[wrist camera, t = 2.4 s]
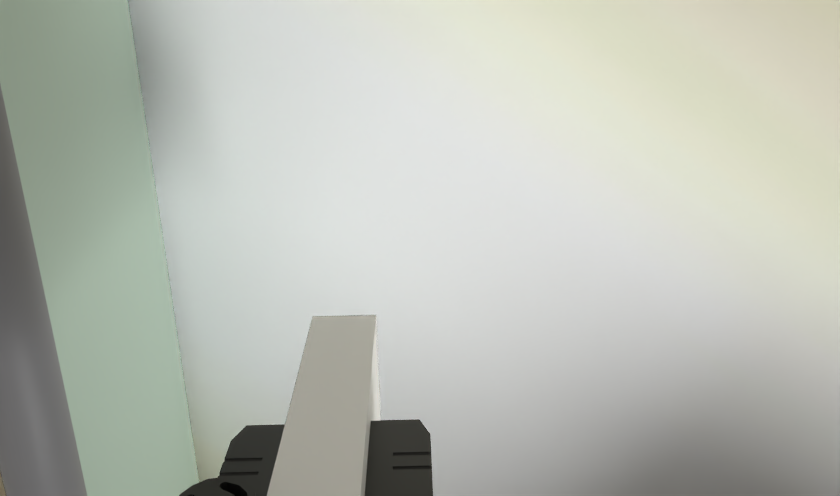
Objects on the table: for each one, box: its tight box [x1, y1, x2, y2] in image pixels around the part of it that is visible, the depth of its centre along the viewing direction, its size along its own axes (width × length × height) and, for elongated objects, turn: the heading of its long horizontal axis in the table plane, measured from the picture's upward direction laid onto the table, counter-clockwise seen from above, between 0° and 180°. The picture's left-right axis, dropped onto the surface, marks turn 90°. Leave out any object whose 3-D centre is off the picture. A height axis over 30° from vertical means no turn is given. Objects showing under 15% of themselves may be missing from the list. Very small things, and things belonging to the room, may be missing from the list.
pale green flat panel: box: [0, 0, 199, 496], centre depth 20 cm, size 21×2×9 cm, turn 1°
